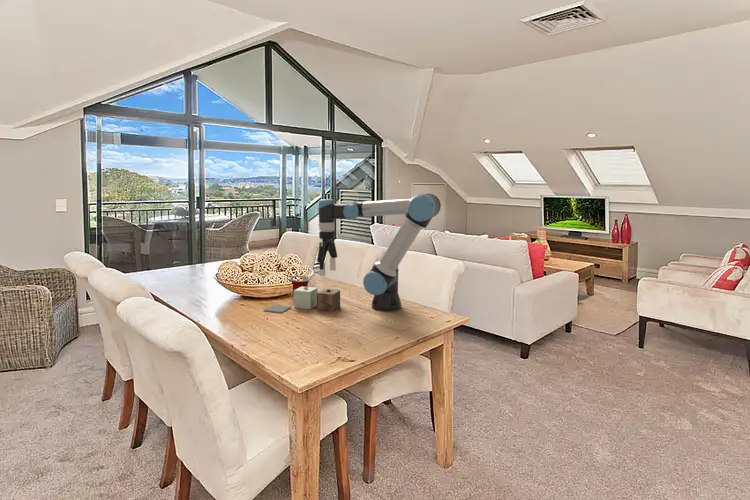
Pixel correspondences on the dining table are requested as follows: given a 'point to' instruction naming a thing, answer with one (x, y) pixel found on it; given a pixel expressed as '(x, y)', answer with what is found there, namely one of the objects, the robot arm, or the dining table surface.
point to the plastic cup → (299, 282)
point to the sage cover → (305, 297)
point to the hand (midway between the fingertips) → (327, 273)
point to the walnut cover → (328, 300)
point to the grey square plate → (277, 308)
